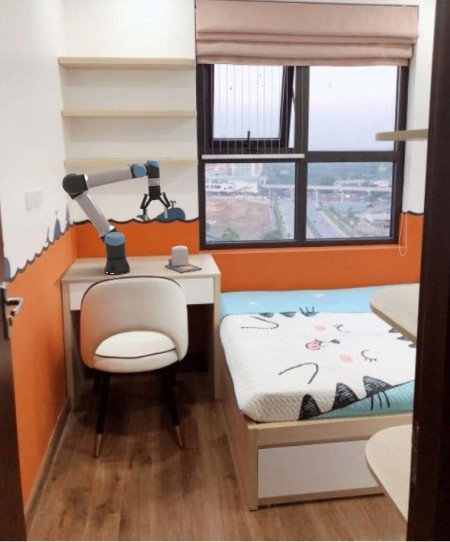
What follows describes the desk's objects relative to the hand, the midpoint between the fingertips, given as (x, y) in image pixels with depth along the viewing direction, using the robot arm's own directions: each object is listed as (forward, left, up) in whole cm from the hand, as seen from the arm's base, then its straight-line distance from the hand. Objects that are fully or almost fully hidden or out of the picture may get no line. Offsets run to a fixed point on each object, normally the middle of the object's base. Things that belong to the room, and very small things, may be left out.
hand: (156, 219), depth 330 cm
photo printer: (+6, -18, -28) cm, 34 cm away
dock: (+6, -22, -29) cm, 37 cm away
